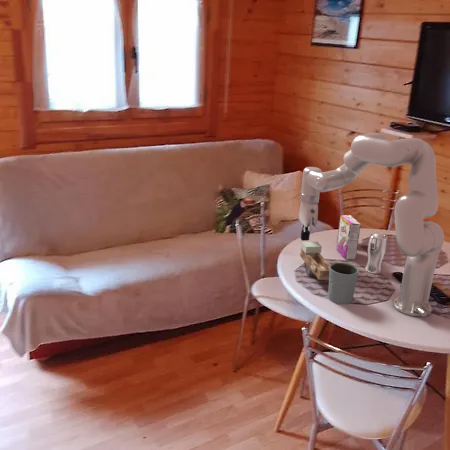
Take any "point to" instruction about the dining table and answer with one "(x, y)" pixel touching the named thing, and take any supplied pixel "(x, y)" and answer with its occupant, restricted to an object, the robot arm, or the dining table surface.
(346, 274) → the grey green cup
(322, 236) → the dining table surface
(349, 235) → the candy bar box
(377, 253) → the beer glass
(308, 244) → the block
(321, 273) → the brown long open box
